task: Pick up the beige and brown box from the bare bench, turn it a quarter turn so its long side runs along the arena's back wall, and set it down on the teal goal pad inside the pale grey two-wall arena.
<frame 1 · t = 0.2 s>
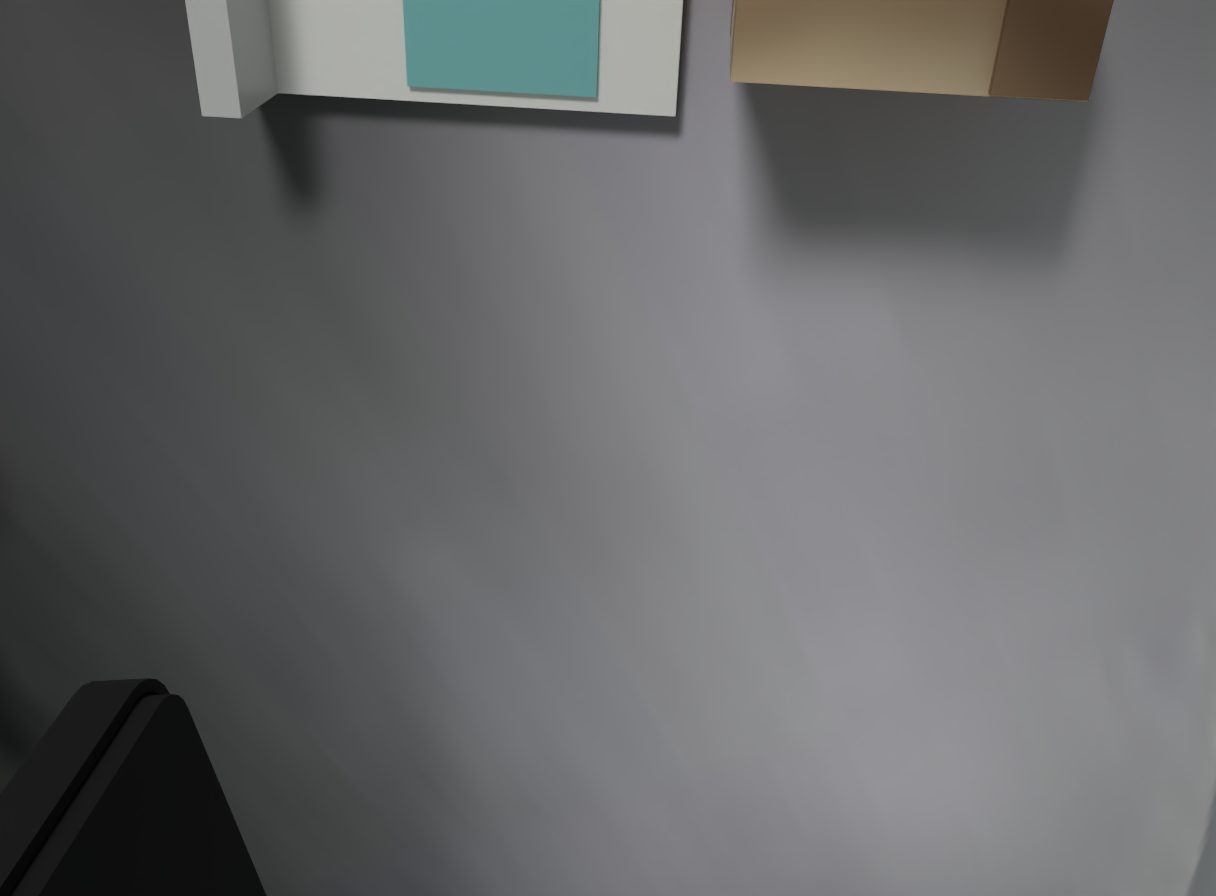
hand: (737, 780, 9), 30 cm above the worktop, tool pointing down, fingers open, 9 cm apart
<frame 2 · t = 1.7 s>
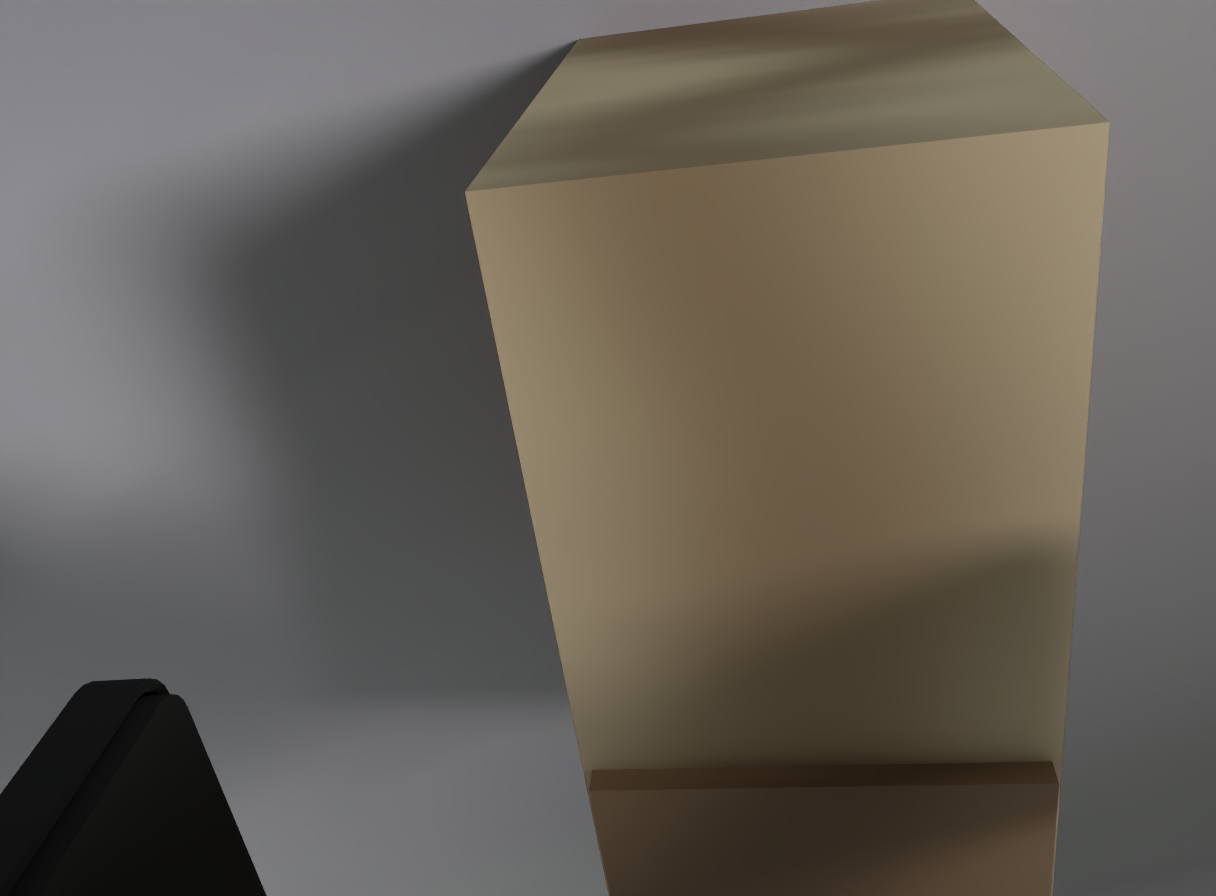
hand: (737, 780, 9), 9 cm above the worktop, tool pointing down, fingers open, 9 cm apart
beige and brown box: (786, 327, 17), on the worktop
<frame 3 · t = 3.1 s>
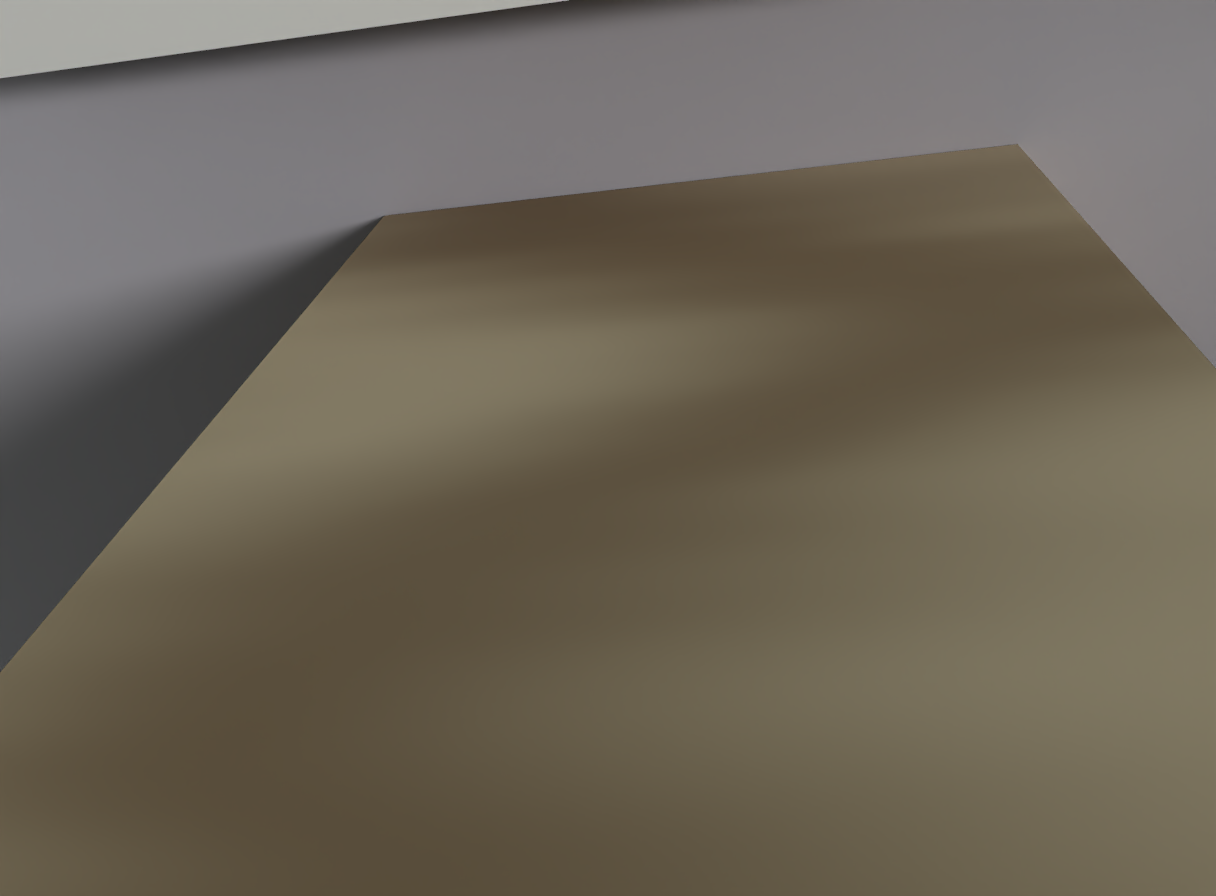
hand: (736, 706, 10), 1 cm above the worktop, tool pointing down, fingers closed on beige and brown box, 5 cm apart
beige and brown box: (736, 632, 11), on the worktop, touching gripper
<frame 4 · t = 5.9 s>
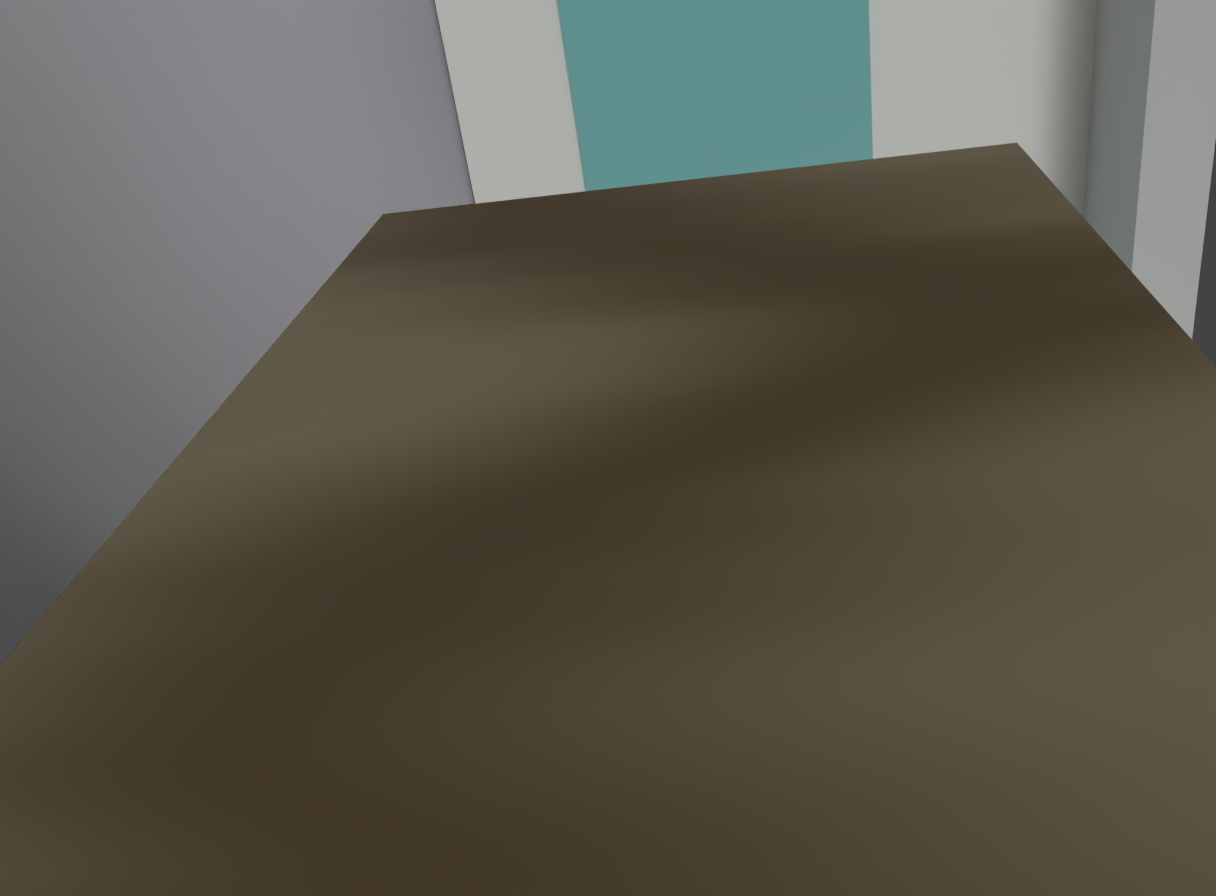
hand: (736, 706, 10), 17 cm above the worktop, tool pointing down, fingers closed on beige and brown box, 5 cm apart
beige and brown box: (735, 631, 11), point 16 cm above the worktop, touching gripper
arena: (801, 240, 25), on the worktop
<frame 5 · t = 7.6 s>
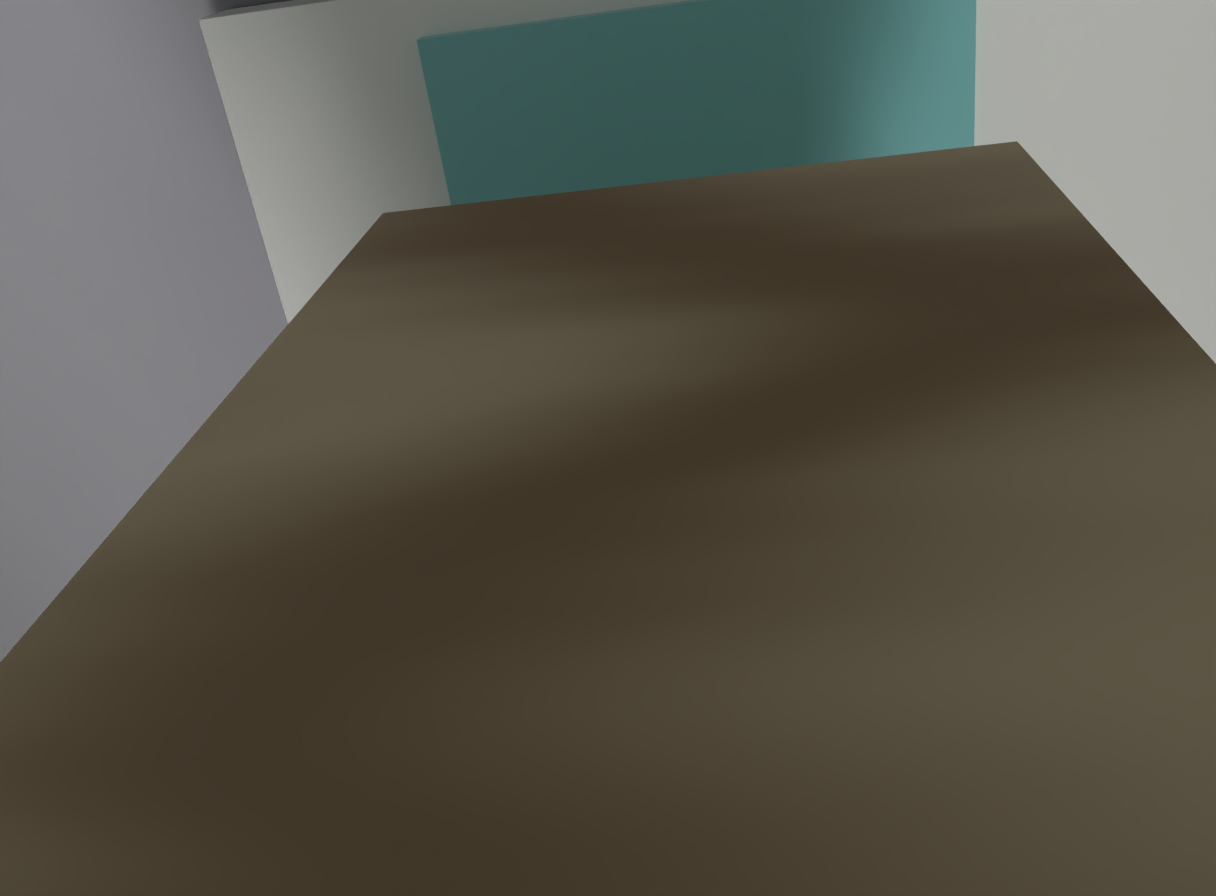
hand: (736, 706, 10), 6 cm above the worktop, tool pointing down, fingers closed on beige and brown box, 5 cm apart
beige and brown box: (735, 630, 11), point 5 cm above the worktop, touching gripper
arena: (845, 501, 16), on the worktop
when the fingers open (3 cm above the worktop, at t = 9.0 s): beige and brown box drops 1 cm, resting on arena.
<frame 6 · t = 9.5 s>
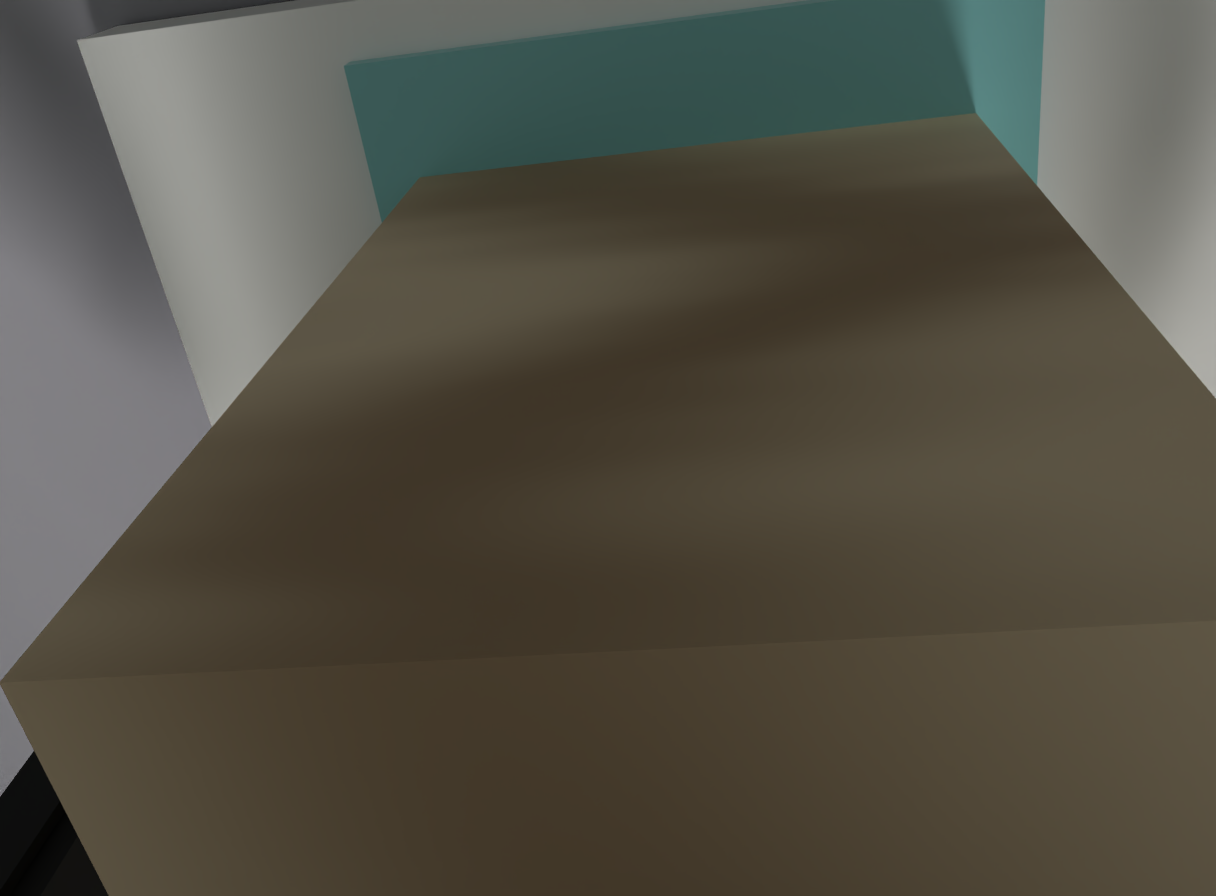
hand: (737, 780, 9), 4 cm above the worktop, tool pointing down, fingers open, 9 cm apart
beige and brown box: (730, 558, 12), point 1 cm above the worktop, touching arena
arena: (868, 600, 14), on the worktop
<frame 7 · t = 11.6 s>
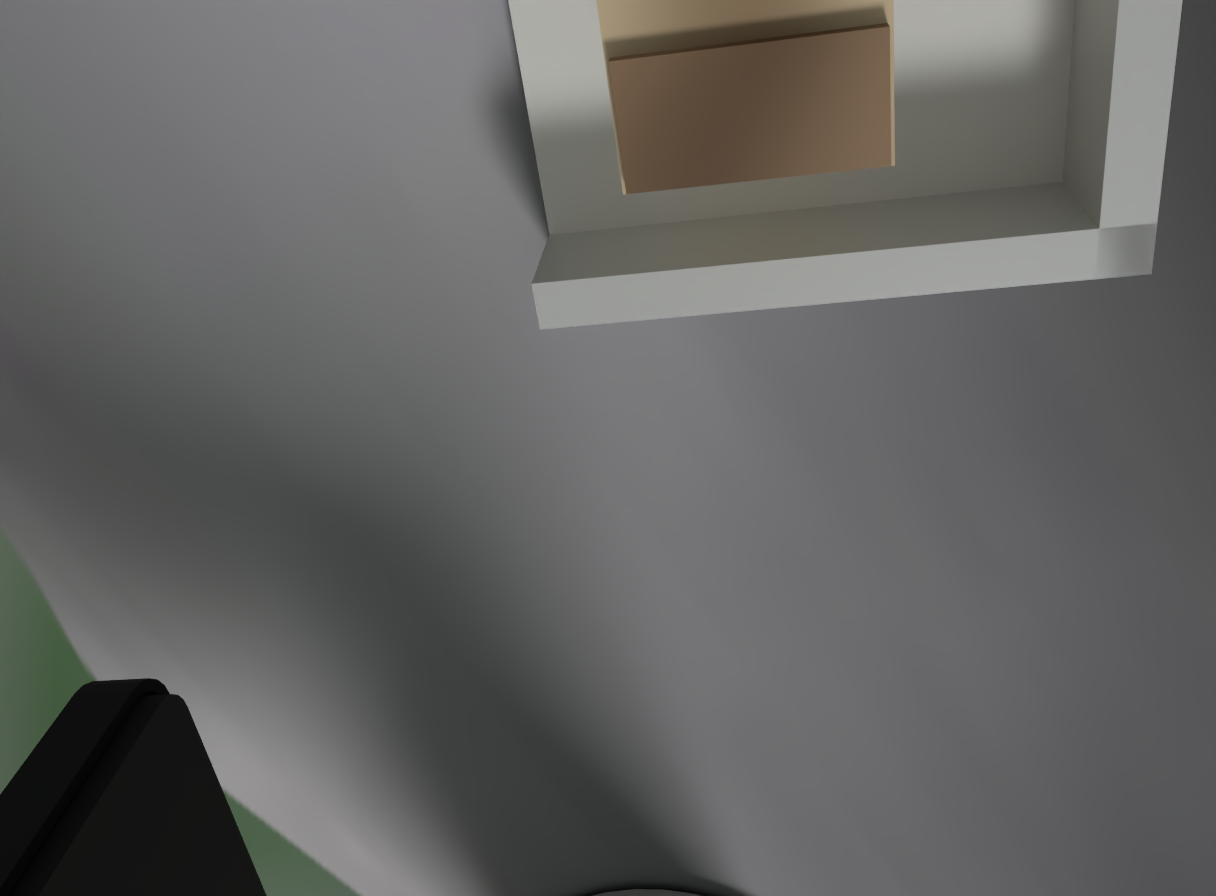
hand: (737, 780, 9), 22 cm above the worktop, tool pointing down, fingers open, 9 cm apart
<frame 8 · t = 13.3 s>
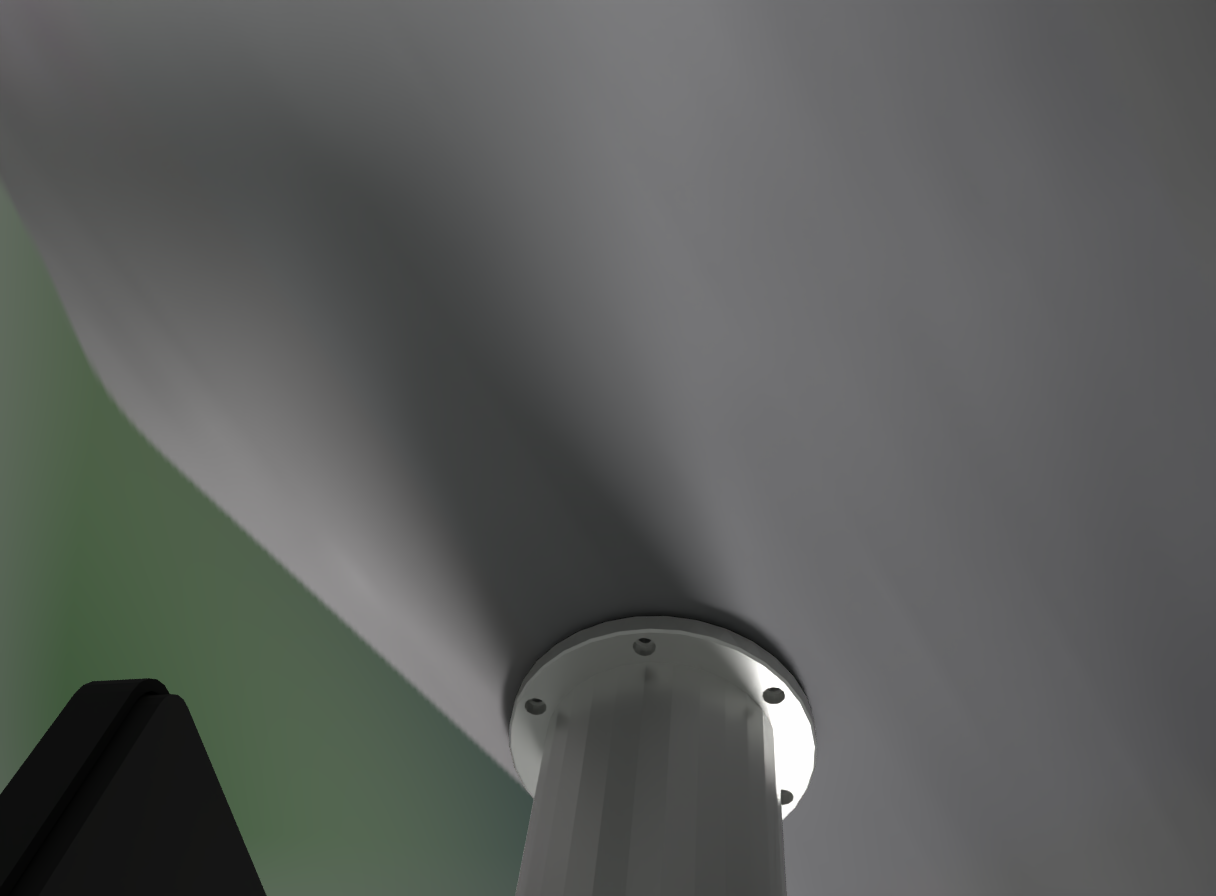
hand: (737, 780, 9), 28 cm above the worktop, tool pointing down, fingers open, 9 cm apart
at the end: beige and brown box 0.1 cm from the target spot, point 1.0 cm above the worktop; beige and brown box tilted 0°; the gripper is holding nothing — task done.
